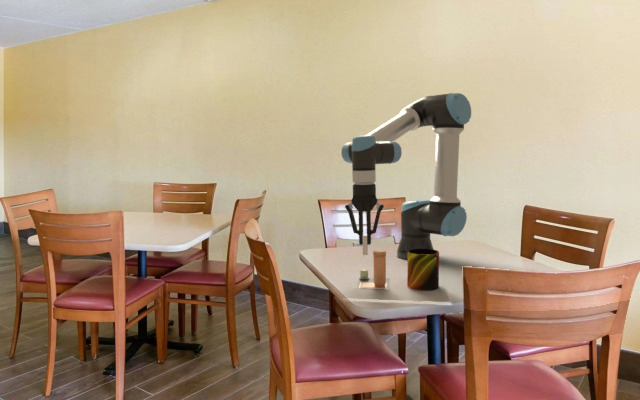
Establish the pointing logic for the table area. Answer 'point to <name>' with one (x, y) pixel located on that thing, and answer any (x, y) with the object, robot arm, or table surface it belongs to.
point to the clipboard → (371, 284)
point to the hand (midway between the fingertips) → (365, 254)
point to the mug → (423, 269)
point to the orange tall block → (379, 268)
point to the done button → (363, 273)
